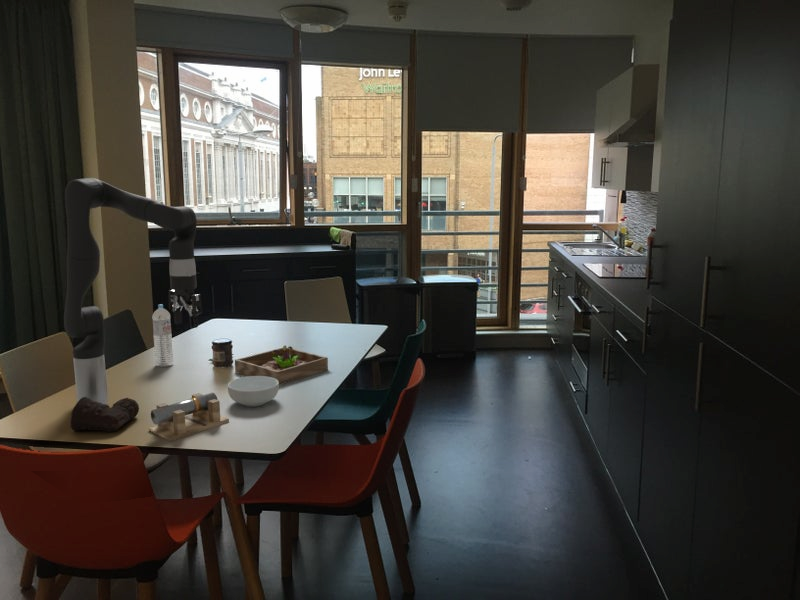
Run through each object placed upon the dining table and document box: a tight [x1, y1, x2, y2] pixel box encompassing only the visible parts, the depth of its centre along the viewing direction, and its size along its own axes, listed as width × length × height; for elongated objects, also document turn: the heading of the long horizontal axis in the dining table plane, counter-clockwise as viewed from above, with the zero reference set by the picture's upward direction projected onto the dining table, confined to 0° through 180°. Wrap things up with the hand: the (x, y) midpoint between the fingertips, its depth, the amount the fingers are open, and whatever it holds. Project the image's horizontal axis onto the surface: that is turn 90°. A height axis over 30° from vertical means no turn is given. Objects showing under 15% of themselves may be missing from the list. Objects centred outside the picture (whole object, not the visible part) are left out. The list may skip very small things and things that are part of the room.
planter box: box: [234, 346, 329, 386], centre depth 253 cm, size 26×26×5 cm
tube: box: [150, 392, 218, 426], centre depth 194 cm, size 20×4×4 cm, turn 141°
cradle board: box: [148, 392, 230, 442], centre depth 195 cm, size 12×20×8 cm, turn 141°
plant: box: [262, 345, 309, 371], centre depth 252 cm, size 20×20×11 cm
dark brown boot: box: [70, 397, 140, 433], centre depth 196 cm, size 10×15×15 cm
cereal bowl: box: [227, 376, 280, 408], centre depth 217 cm, size 17×17×7 cm
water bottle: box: [151, 303, 174, 368], centre depth 259 cm, size 7×7×25 cm
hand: (186, 325), depth 197 cm, fingers open, 8 cm apart
